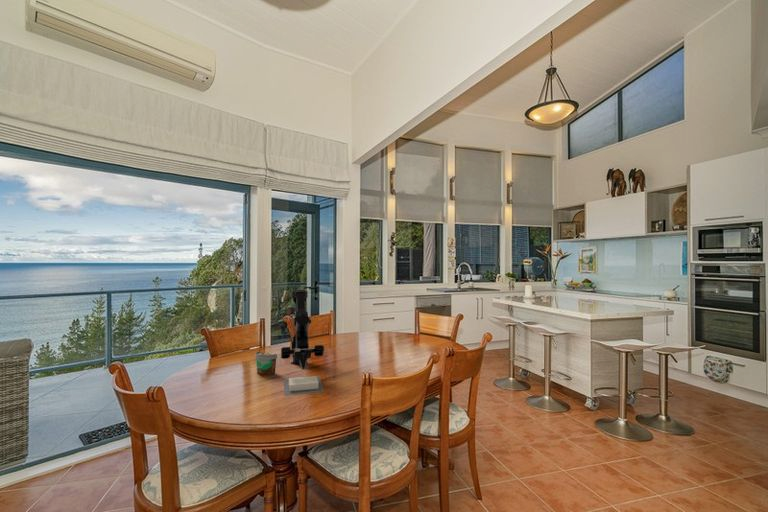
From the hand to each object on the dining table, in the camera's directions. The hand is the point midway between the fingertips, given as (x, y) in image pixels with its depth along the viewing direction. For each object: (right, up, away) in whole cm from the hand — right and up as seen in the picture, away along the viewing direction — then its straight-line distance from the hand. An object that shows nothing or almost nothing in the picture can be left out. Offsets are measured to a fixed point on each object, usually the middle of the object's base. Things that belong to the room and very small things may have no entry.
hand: (303, 368), depth 151 cm
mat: (0, -8, 0) cm, 8 cm away
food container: (-23, -8, +15) cm, 29 cm away
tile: (-1, -6, +3) cm, 6 cm away
